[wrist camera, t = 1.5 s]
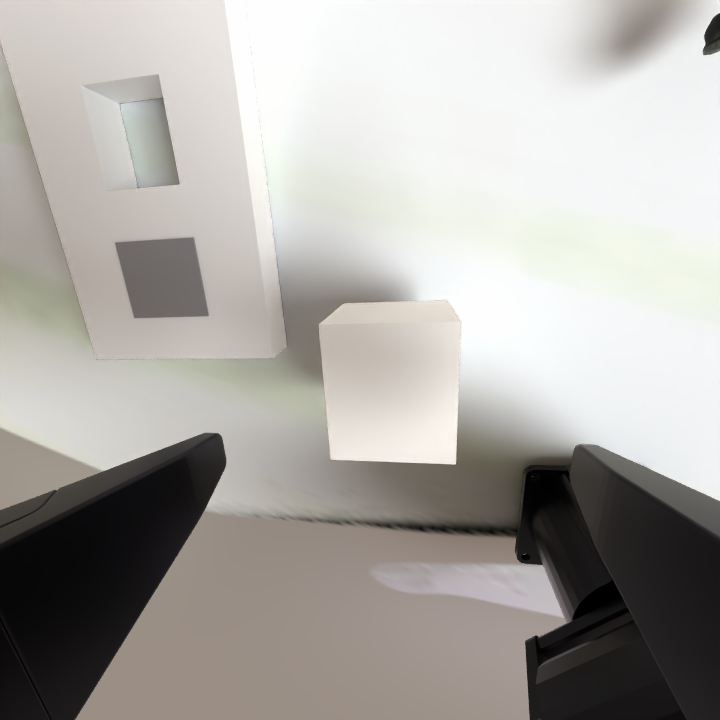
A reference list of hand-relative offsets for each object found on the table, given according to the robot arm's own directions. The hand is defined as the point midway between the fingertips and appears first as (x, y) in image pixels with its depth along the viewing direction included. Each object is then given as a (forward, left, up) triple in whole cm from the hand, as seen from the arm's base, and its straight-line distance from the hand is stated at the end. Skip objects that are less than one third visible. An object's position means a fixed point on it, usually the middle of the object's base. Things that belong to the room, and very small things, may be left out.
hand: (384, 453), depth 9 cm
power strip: (+10, +11, -10) cm, 18 cm away
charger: (0, 0, -10) cm, 10 cm away
